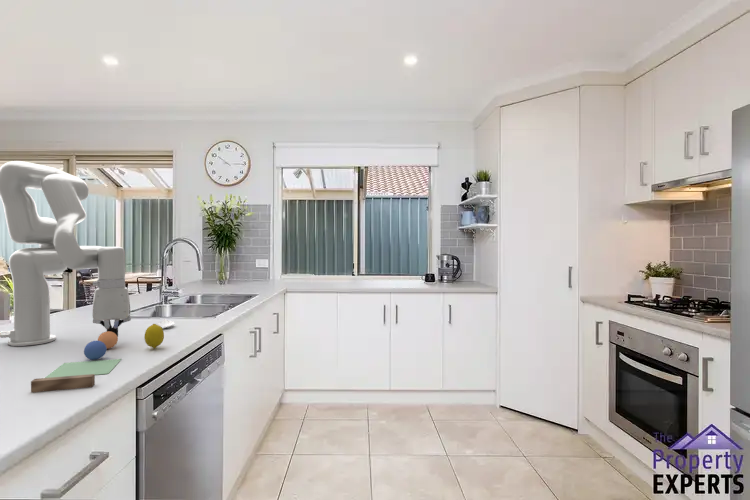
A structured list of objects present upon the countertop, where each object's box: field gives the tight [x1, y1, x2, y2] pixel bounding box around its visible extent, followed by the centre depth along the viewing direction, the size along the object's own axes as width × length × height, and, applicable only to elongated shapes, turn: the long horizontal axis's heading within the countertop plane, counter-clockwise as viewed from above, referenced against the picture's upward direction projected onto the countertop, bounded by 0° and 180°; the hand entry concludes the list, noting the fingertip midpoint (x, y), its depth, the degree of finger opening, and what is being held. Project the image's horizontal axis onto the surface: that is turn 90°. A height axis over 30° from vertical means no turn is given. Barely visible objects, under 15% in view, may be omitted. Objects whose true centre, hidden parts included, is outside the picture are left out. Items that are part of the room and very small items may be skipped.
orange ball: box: [97, 330, 119, 350], centre depth 136 cm, size 6×6×6 cm
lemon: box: [144, 323, 165, 349], centre depth 137 cm, size 6×6×8 cm
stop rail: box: [30, 374, 96, 393], centre depth 100 cm, size 12×2×2 cm, turn 109°
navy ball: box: [83, 340, 108, 361], centre depth 124 cm, size 6×6×6 cm
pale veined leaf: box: [155, 318, 175, 330], centre depth 170 cm, size 8×12×2 cm, turn 21°
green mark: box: [44, 358, 122, 378], centre depth 116 cm, size 14×14×1 cm
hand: (112, 340), depth 141 cm, fingers closed
